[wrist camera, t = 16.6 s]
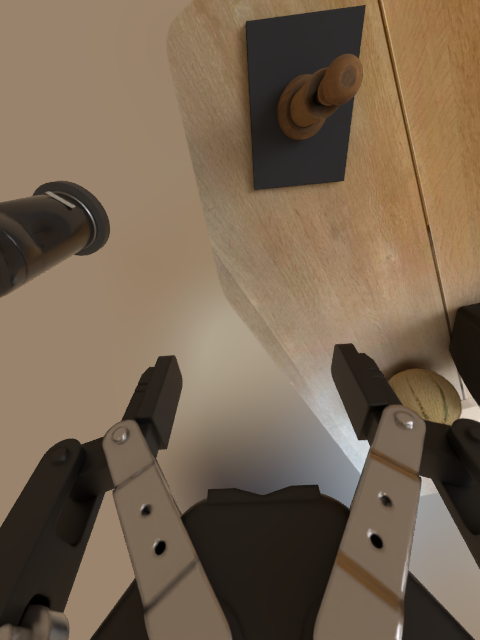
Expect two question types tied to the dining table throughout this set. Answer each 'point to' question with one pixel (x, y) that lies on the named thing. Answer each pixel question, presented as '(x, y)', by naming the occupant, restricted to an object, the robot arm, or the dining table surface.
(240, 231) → the dining table surface
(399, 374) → the cantaloupe
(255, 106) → the mat
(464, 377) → the flower pot
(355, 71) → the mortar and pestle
